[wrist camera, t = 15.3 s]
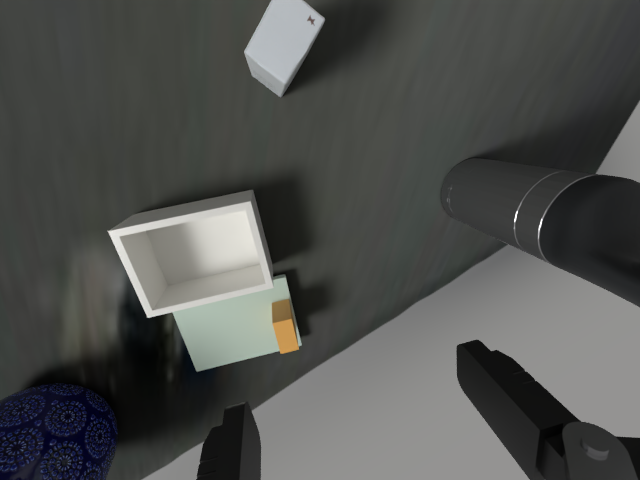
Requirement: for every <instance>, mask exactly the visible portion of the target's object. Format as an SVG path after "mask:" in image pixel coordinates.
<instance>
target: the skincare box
mask: <svg viewBox="0 0 640 480" xmlns="http://www.w3.org/2000/svg"><path fill="white" fill-rule="evenodd" d="M324 22H325V18H324V17H323V16H322V15H320V14H319V13H318V12H317V11H316V10H314V9H313V8H312V7H311V6H310V5H308V4H307V3H306V2H305V1H304V0H271V2H270V4H269V6H268V8H267V10H266V12H265V14H264V16H263V18H262V20H261V21H260V23H259V25H258V27H257V29H256V31H255V33H254V34H253V36H252V38H251V40H250V42H249V44H248V46H247V47H246V49H245V51H244V53H245V56H246V59H247V62H248V65H249V68H250V71H251V74H252V76H253V77H255V78H256V79H257V80H259V81H260V82H261V83H262V84H264V85H265V86H266V87H268V88H269V89H270V90H271V91H273V92H274V93H275V94H277V95H278V96H279V97H282V96H283V94H284V93H285V91H286V90H287V88H288V86H289V85H290V83H291V82H292V80H293V78H294V77H295V75H296V73H297V71H298V70H299V68H300V66H301V65H302V63H303V61H304V59H305V58H306V56H307V54H308V53H309V51H310V49H311V47H312V45H313V43H314V41H315V39H316V37H317V35H318V33H319V31H320V30H321V28H322V26H323V24H324Z"/></svg>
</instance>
